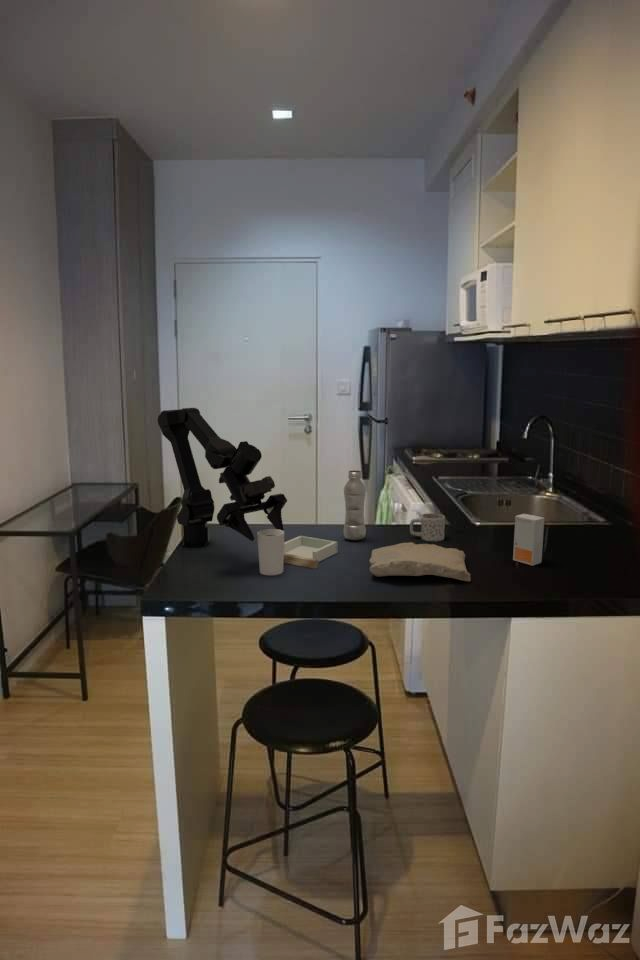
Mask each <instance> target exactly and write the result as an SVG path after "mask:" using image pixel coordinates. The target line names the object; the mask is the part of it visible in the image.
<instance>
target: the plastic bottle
mask: <svg viewBox="0 0 640 960" xmlns="http://www.w3.org/2000/svg"><path fill="white" fill-rule="evenodd" d="M347 477H348V481H347V482H346V483H345V485H344V487H343V496H344V502H345V505H344V506H345V518H344V523H343V524H344V525H343V535H344V538H345V539H346V540H350V541H360V540H363V539H364V537H366V531H367V528H366V524H365V514H364V512H365V500H366V494H367V493H366V492H367V489H366V485H365V483H363V481H362V480H361V479H362V478H363V477H362V471H361V470H359V469H358V470H355V469H354V470H353V469H352V470H349V471H348V476H347Z"/></svg>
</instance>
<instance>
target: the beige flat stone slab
mask: <svg viewBox="0 0 640 960" xmlns="http://www.w3.org/2000/svg"><path fill="white" fill-rule="evenodd" d="M370 554H371V556H370V558H369V560H368V561H369V563H370V566H369V572H370V573H372V574H373V575H374V577H377V578H379V577H380V578H381V577H388V576H404V577H405V576H407V577H409V576H411V577H413V576H414V577H420V576H426V575H430V576H431V575H432V576H437V577H441V578H442V577H443V578H451V579H454V580H458V581H463V582H469V583H470V582H471V573H470V572H468V570H467V568H466V563H465V560H466V559H465V558H466V554H465V553H464V551H463V550H459V549H458V548H456V547H455V548H453V547H450V548H449V547H448V548H447V547H443V546H440V545H437V544H433V543H432V544H429V543H418V544H416V543H415V542H411V541H410V542H401V543H396V544H391V545H386V546H382V547H381V546H380V547H379V548H375V549H372V551H371V553H370Z"/></svg>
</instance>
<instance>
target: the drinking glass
mask: <svg viewBox="0 0 640 960" xmlns="http://www.w3.org/2000/svg"><path fill="white" fill-rule="evenodd" d="M256 535H257V536H256V537H257V550H258V563H259V564H258V565H259V573H260V574H261V575H265V576H277V575H280V574H283V573H284V563H283V562H284V542H285V530H284V531H282V530H279V529H276V528H267V529H261V530H258V531H257V533H256ZM282 572H283V573H282Z"/></svg>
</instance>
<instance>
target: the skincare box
mask: <svg viewBox="0 0 640 960" xmlns="http://www.w3.org/2000/svg"><path fill="white" fill-rule="evenodd" d="M514 519H515V520H514V533H513V536H514V537H513V552H512V553H513V555H512V560H513V561H515V562H519V563H522V564H526V565H529V566H535V565H539V564H541V563H542V561H543V560H542V559H543V558H542V557H543V543H544V529H545V517H542V516H537V515H534V514H533V515H532V514H527V513H521V514H517V515H515V517H514Z"/></svg>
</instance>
